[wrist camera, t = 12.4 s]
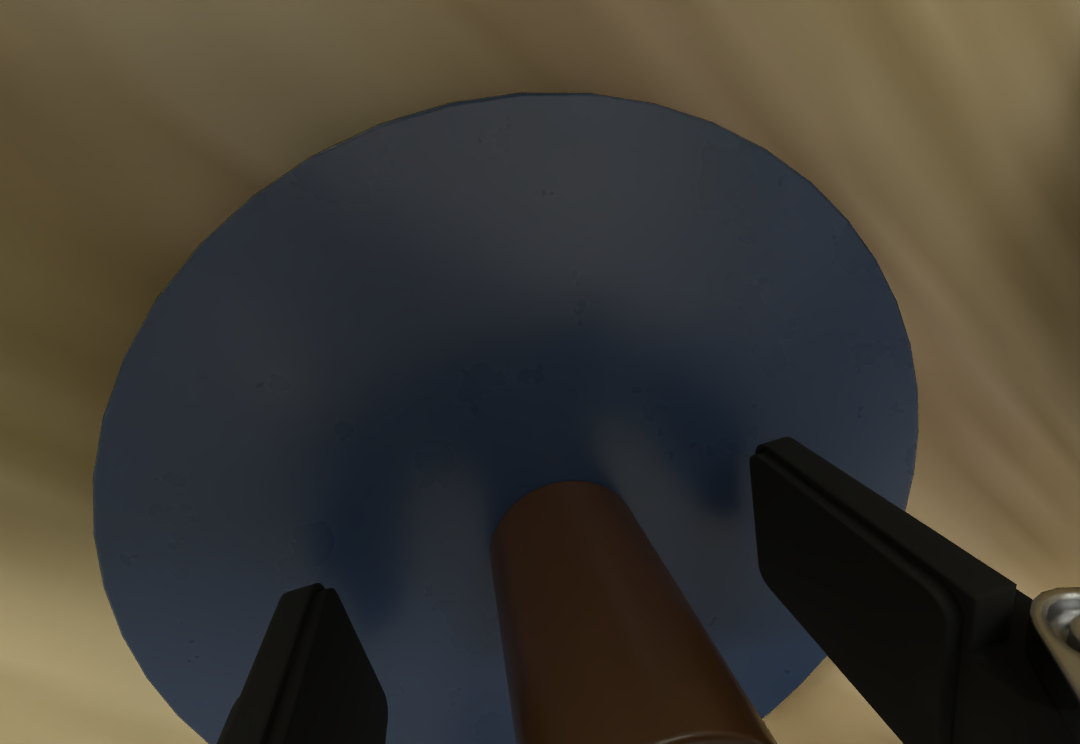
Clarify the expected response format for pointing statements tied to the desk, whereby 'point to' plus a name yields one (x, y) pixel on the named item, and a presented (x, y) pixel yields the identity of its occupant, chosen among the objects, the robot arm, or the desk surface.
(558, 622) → the pot lid
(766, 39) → the desk surface
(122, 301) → the desk surface
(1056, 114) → the desk surface
